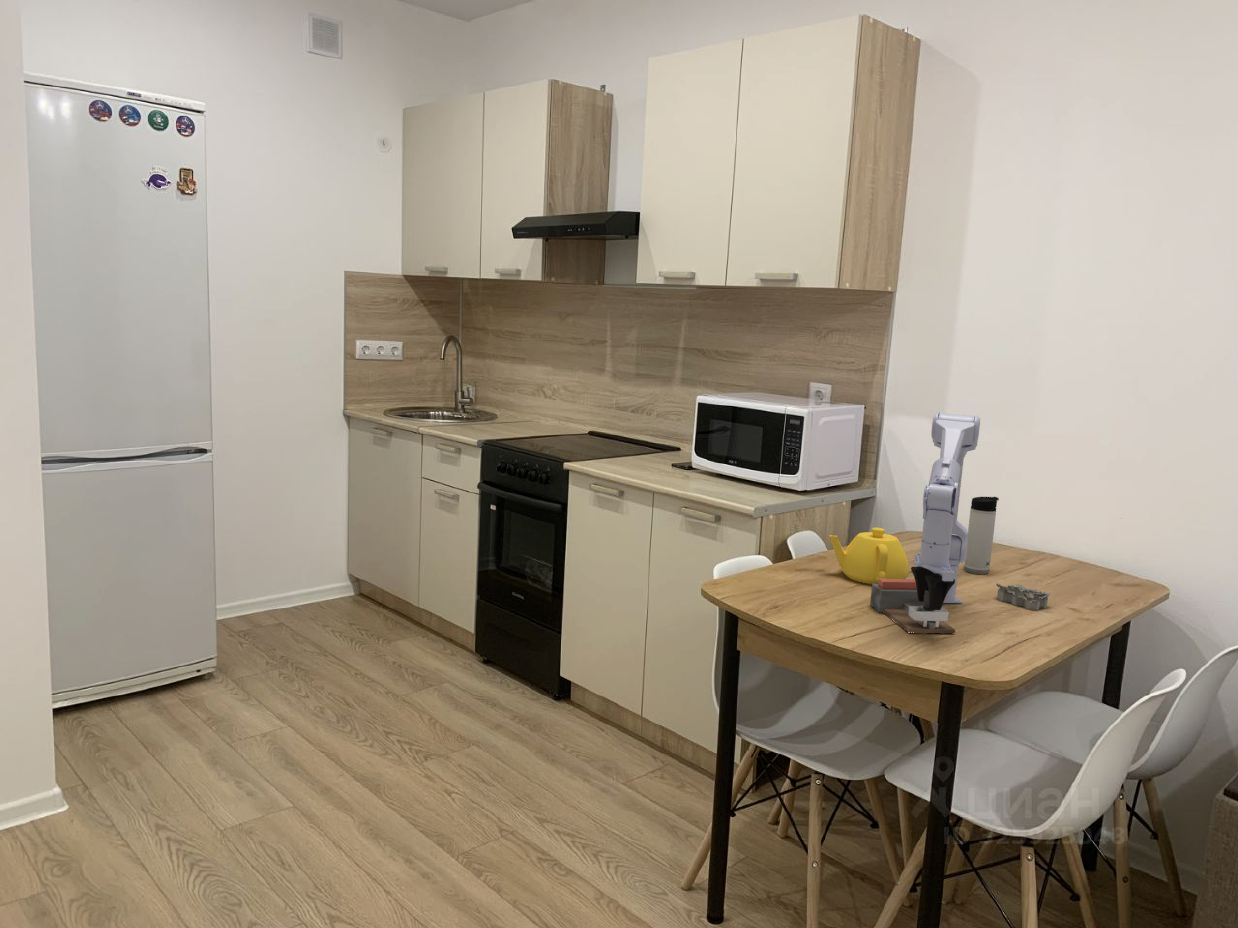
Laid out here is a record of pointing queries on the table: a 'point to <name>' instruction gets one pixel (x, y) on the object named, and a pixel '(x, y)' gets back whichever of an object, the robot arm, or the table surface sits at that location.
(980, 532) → the travel mug
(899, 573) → the teapot
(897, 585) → the bar
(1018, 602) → the egg carton
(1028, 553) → the table surface
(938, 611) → the carriage
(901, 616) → the rail stand
